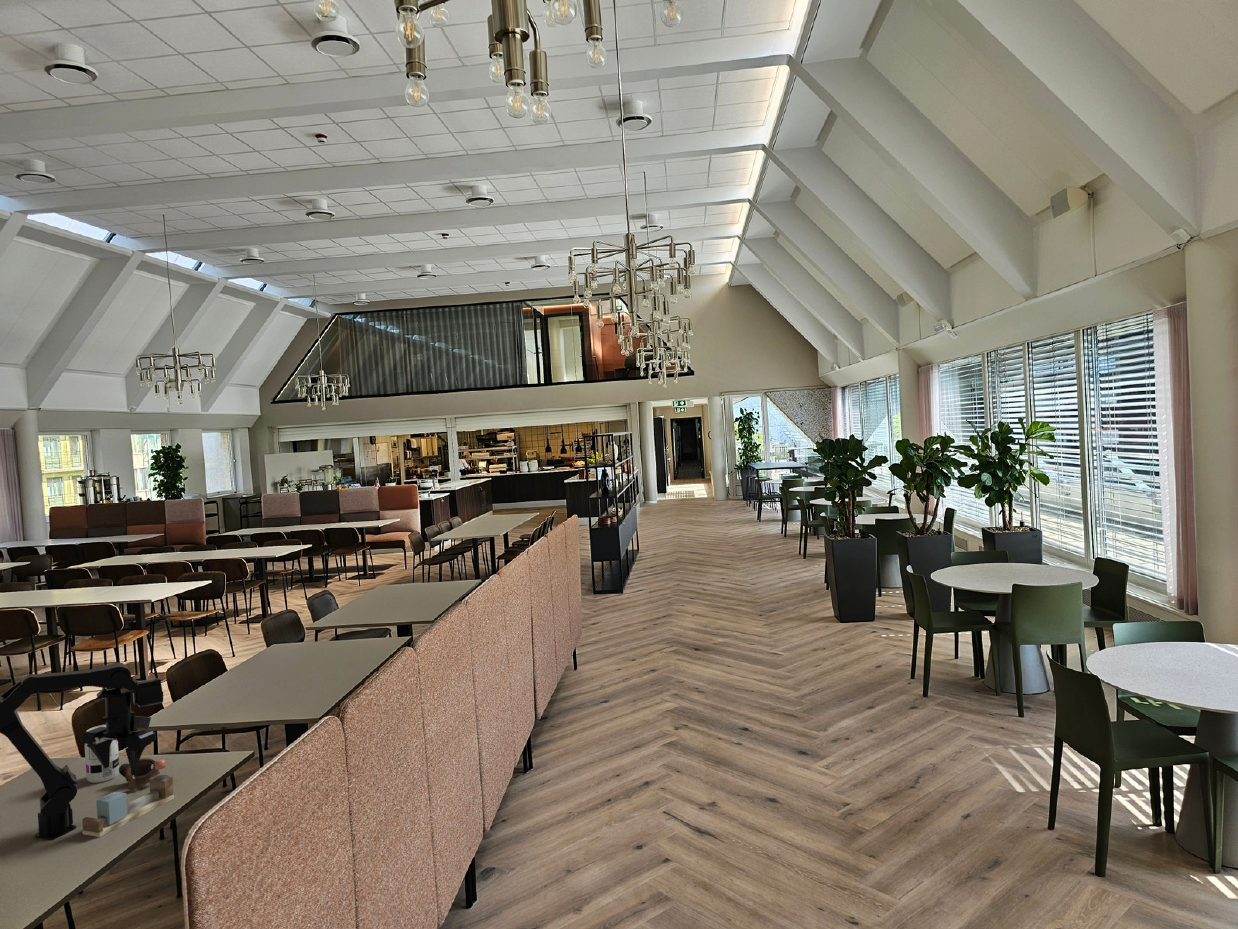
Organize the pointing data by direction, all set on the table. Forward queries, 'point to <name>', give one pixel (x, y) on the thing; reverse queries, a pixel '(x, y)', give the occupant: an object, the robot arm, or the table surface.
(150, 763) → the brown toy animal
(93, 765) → the supplement can
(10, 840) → the table surface
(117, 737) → the robot arm
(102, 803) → the light blue block
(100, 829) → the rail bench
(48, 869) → the table surface
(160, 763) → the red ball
